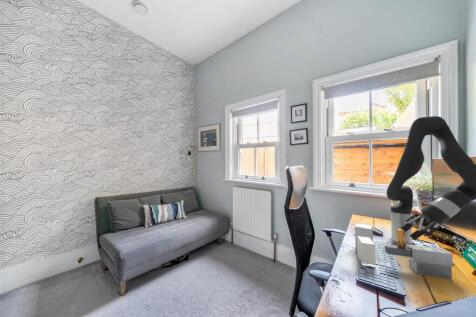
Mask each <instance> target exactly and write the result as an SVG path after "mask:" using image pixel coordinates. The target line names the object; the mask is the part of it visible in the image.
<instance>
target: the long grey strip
mask: <svg viewBox="0 0 476 317" xmlns="http://www.w3.org/2000/svg"><path fill="white" fill-rule="evenodd" d="M384 252H385V253H387V255H393V256H398V257H399V256H400V257H406V258H407V257H408V258H409V257H412V250H411V249H410V248H409V247H406V244H405V230H404V229H397V242H396V245H391V244H384Z"/></svg>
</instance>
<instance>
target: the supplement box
mask: <svg viewBox="0 0 476 317" xmlns="http://www.w3.org/2000/svg"><path fill="white" fill-rule="evenodd" d="M354 234H355V235H354V237H355V238H354V239H355V240H354V241H355V250H356V251H358V244H357V236H360V237H368V238H370V239H371V240H372V241H373V242H374V228H373V225H369V224H363V223H356V224H355V226H354Z"/></svg>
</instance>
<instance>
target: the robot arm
mask: <svg viewBox="0 0 476 317" xmlns="http://www.w3.org/2000/svg"><path fill="white" fill-rule="evenodd" d="M426 136H432V137H434V138H435V139H437V141H438V142H439V145H440V146H439V147H440V155H441V158H442V160H443V161H444V163H445V164H446V165H447V166H448V168H449V169H450V170H451V171H452V172H453V173H455V174H458V176H459V177H461V179H462V180H463V181H461V182H460V184H459V183H458V185H457V186H455V187H454V188H452V189H450V190H448V191H447V192H445V193H443V195H441V196H439V197H438V198H436V199H433V201H431V202H430V203H429V204H427V205H426V206H425V207H423V208H422V209H421V210H420V212H421V213H422V214H420V215H419V214H418V213H416V212H415V213H414V214H413V215H412V211H413V205H414V204H413V203H414V202H413V201H414V192H413V190H412V188H411V187H410V186H408V185H404V184H405V183H406V182H407V181H409V180H410V179H412V178H413V177H414V176H416V175H417V174H418V173H419V172H420V171H421V169H422V167H423V165H424V162H425V156H424V155H425V154H424V152H423V148H422V144H423V142H424V139H425V137H426ZM386 197H387V198H388V200H391V201H394V202H398V203H396V204H394V205H391V207H390V229H391V230H390V232H391V235H390V236H391V240H392V241H393V242H396V243H397V229H404V230H405V245H406V244H410V245H413V240H415V241H416V240H418V239H419V238H420V237H422V236H427V237H430V236H432V235H433V234H434V233H435V232H436V231H438V230H439V229H440V228H441V227H442V226H441V225H442V224H444V223H446V222H447V221H449V220H450V219H451V218H452V217H454V216H455V215H457V214H458V213H459V212H460V211H461V210H463V209H464V208H465V207H467V206H468V205H470V204H471V203H472V202H473V201H475V200H476V163H475V162H474V160H473V159H472V158H471V157H470V156H469V155H468V154H467V152H466V151H465V150H464V149H463V148H462V146H461V145H460V144H459V141H458V140H457V139H456V137H455V135H454V134H453V132H452V130H451V128H450V126H449V124H448V123H447V122H446V120H445V119H444V118H443V117H441V116H438V115H432V116H420V117H416V119H414V120H413V121H412V123H411V125H410V128H409V131H408V136H407V140H406V143H405V147H404V150H403V152H402V155H401V157H400V160H399V162H398V165H397V168H396V171H395V172H394V175H393V177H392V178H391V181H390V182H389V184H388V186H387V189H386ZM414 227H416V228H418V229H416V230H415V231H413V229H412V228H414Z"/></svg>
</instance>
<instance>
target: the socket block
mask: <svg viewBox="0 0 476 317" xmlns="http://www.w3.org/2000/svg"><path fill="white" fill-rule="evenodd" d="M357 244H358V250H357V259H358V258H359V259H360V260H361V262H362V263H366V264H372V265H376V266H377V264H376V260H377V258H376V244H375V242H374V240H373V241H372V240H371V239H370V238H368V237H360V236H357ZM359 259H358V260H359ZM360 260H359V261H360ZM361 262H360V263H361Z"/></svg>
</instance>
